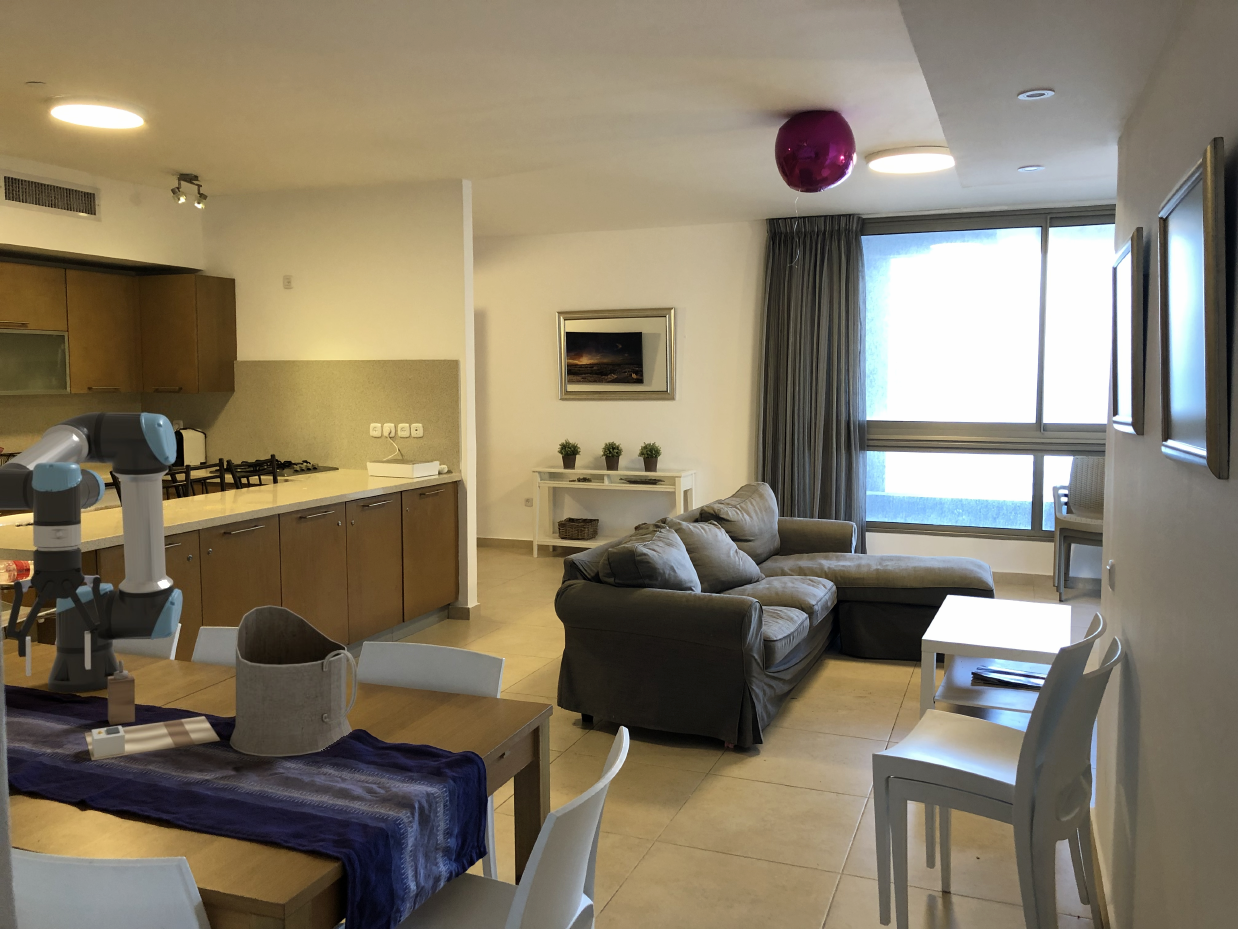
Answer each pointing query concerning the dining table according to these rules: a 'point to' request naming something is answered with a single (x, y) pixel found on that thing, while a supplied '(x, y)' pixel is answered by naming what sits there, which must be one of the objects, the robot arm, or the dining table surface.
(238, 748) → the pitcher
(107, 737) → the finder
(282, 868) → the dining table surface
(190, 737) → the subfloor panel
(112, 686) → the brown upright block
